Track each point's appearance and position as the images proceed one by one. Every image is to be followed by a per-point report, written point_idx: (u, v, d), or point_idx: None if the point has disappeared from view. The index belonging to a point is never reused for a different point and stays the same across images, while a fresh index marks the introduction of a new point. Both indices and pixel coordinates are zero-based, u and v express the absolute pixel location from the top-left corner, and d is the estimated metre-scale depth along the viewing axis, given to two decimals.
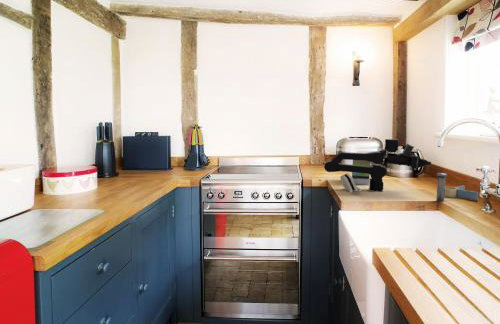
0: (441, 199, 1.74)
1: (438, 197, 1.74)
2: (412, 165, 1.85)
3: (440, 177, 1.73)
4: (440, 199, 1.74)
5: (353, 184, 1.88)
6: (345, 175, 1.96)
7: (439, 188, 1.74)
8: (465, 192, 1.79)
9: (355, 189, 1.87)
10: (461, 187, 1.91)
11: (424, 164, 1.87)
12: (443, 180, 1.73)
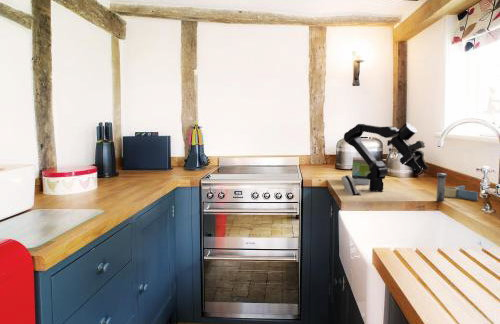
0: (441, 199, 1.74)
1: (438, 197, 1.74)
2: (401, 159, 1.77)
3: (440, 177, 1.73)
4: (440, 199, 1.74)
5: (354, 187, 1.88)
6: (346, 177, 1.95)
7: (439, 188, 1.74)
8: (465, 192, 1.79)
9: (355, 192, 1.87)
10: (461, 187, 1.91)
11: (414, 167, 1.77)
12: (443, 180, 1.73)
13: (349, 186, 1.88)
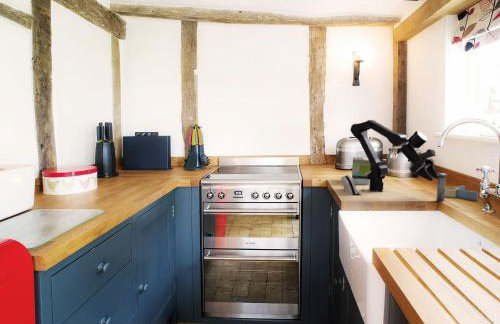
0: (441, 199, 1.74)
1: (438, 197, 1.74)
2: (411, 168, 1.74)
3: (440, 177, 1.73)
4: (440, 199, 1.74)
5: (354, 187, 1.88)
6: (346, 177, 1.95)
7: (439, 188, 1.74)
8: (465, 192, 1.79)
9: (355, 192, 1.87)
10: (461, 187, 1.91)
11: (424, 176, 1.74)
12: (443, 180, 1.73)
13: (349, 186, 1.88)
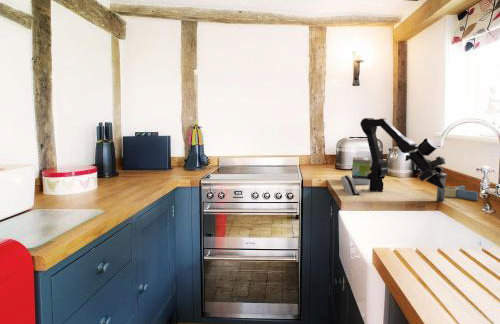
0: (441, 199, 1.74)
1: (438, 197, 1.74)
2: (421, 176, 1.71)
3: (440, 177, 1.73)
4: (440, 199, 1.74)
5: (353, 187, 1.88)
6: (346, 177, 1.95)
7: (439, 188, 1.74)
8: (465, 192, 1.79)
9: (355, 192, 1.87)
10: (461, 187, 1.91)
11: (436, 184, 1.73)
12: (443, 180, 1.73)
13: (349, 186, 1.88)
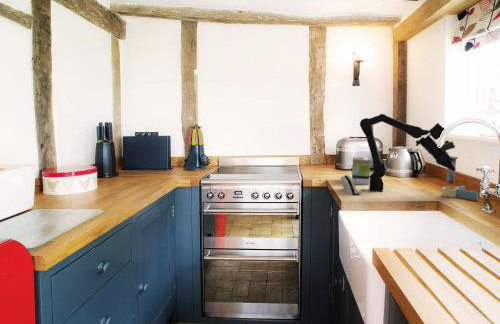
0: (452, 181, 1.82)
1: (450, 179, 1.82)
2: (438, 159, 1.77)
3: (452, 160, 1.81)
4: (452, 181, 1.82)
5: (353, 187, 1.88)
6: (346, 177, 1.95)
7: (451, 171, 1.82)
8: (465, 192, 1.79)
9: (355, 192, 1.87)
10: (461, 187, 1.91)
11: (448, 167, 1.81)
12: (454, 163, 1.81)
13: (349, 186, 1.88)
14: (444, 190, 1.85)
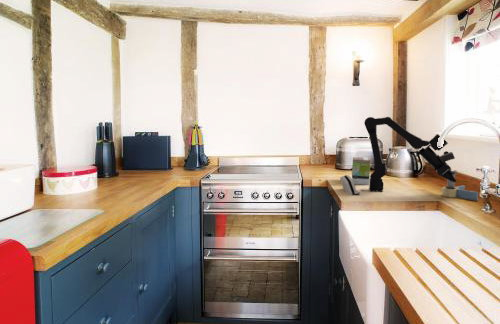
0: None
1: None
2: (439, 171, 1.79)
3: (451, 173, 1.84)
4: None
5: (353, 187, 1.88)
6: None
7: (450, 184, 1.84)
8: (465, 192, 1.79)
9: (355, 192, 1.87)
10: (461, 187, 1.91)
11: (449, 178, 1.80)
12: (454, 176, 1.84)
13: (349, 186, 1.88)
14: (444, 190, 1.85)
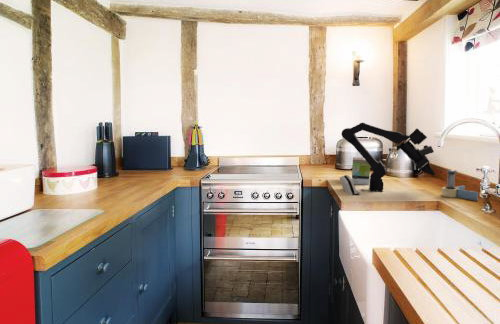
0: None
1: None
2: (418, 164, 1.82)
3: (451, 173, 1.84)
4: None
5: (353, 187, 1.88)
6: None
7: (450, 184, 1.84)
8: (465, 192, 1.79)
9: (355, 192, 1.88)
10: (461, 187, 1.91)
11: (428, 171, 1.84)
12: (454, 176, 1.84)
13: (348, 186, 1.88)
14: (444, 190, 1.85)
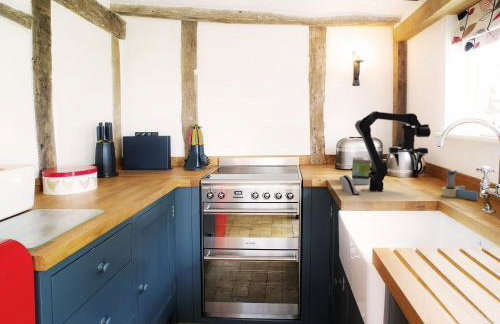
0: None
1: None
2: (427, 149, 1.94)
3: (451, 173, 1.84)
4: None
5: (353, 187, 1.88)
6: (345, 177, 1.95)
7: (450, 184, 1.84)
8: (465, 192, 1.79)
9: (354, 192, 1.88)
10: (461, 187, 1.91)
11: None
12: (454, 176, 1.84)
13: (348, 186, 1.88)
14: (444, 190, 1.85)
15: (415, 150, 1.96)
